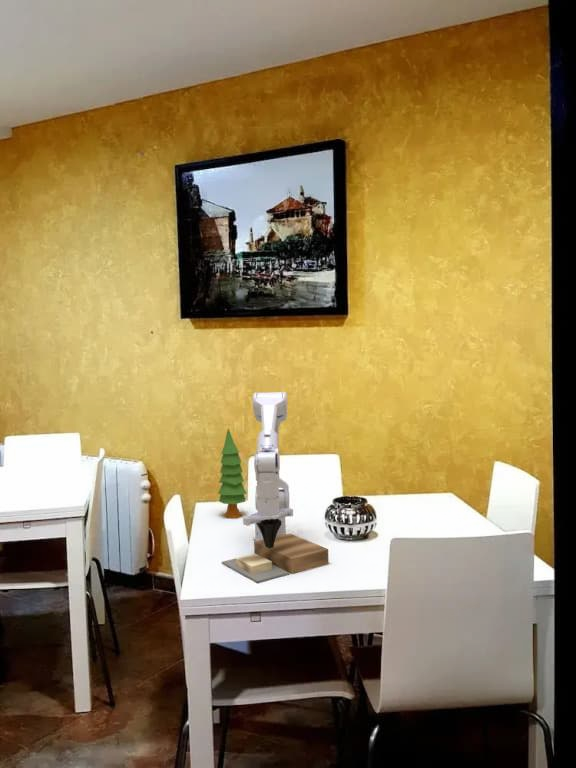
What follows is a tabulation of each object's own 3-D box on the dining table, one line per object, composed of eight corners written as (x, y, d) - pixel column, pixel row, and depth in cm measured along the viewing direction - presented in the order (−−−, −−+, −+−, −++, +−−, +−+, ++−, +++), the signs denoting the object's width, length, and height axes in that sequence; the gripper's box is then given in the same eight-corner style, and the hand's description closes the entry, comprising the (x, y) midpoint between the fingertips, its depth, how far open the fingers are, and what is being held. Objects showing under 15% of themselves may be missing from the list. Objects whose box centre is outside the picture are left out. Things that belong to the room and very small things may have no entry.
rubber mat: (221, 563, 189) (221, 561, 189) (252, 556, 194) (252, 554, 194) (257, 583, 174) (257, 581, 174) (289, 574, 179) (289, 572, 179)
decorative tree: (216, 519, 232) (213, 429, 229) (222, 511, 241) (219, 424, 238) (245, 519, 230) (242, 429, 227) (250, 511, 239) (247, 424, 237)
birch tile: (255, 553, 188) (255, 560, 189) (236, 558, 185) (236, 565, 185) (271, 561, 182) (272, 569, 182) (252, 566, 178) (252, 574, 179)
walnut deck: (254, 555, 194) (254, 541, 194) (290, 546, 201) (289, 533, 201) (291, 573, 180) (291, 558, 179) (328, 563, 186) (328, 549, 186)
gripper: (252, 504, 178) (254, 556, 179) (299, 495, 186) (300, 545, 187) (238, 499, 183) (240, 549, 185) (284, 490, 192) (285, 538, 193)
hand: (269, 547), depth 186 cm, fingers closed
